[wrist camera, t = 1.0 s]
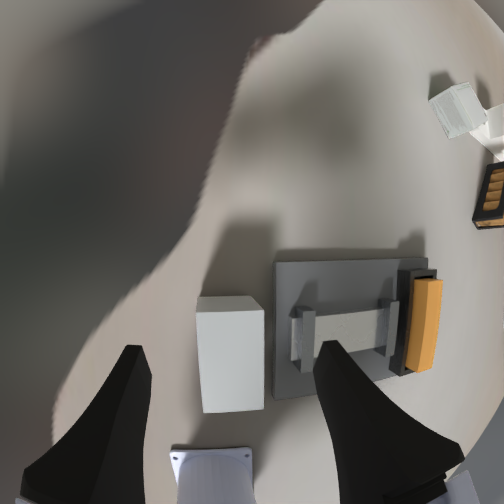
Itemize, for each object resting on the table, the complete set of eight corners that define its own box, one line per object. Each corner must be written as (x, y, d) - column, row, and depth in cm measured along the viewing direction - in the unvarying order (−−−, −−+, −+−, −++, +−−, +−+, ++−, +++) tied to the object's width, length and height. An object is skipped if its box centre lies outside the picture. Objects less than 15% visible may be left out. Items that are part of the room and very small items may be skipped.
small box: (445, 93, 27) (468, 80, 22) (465, 130, 27) (490, 120, 22) (426, 99, 26) (451, 84, 21) (448, 140, 26) (475, 130, 21)
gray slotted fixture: (414, 362, 25) (425, 368, 23) (286, 389, 22) (293, 400, 20) (423, 268, 24) (436, 269, 22) (288, 274, 22) (296, 277, 20)
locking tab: (419, 361, 23) (431, 367, 21) (404, 366, 22) (417, 373, 20) (428, 278, 23) (442, 280, 21) (413, 279, 22) (428, 281, 20)
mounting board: (411, 366, 26) (417, 368, 25) (272, 395, 23) (274, 400, 22) (421, 257, 25) (428, 257, 24) (273, 261, 23) (276, 262, 22)
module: (249, 373, 23) (263, 409, 17) (202, 375, 22) (203, 413, 16) (248, 293, 22) (264, 310, 17) (197, 295, 22) (195, 312, 16)
